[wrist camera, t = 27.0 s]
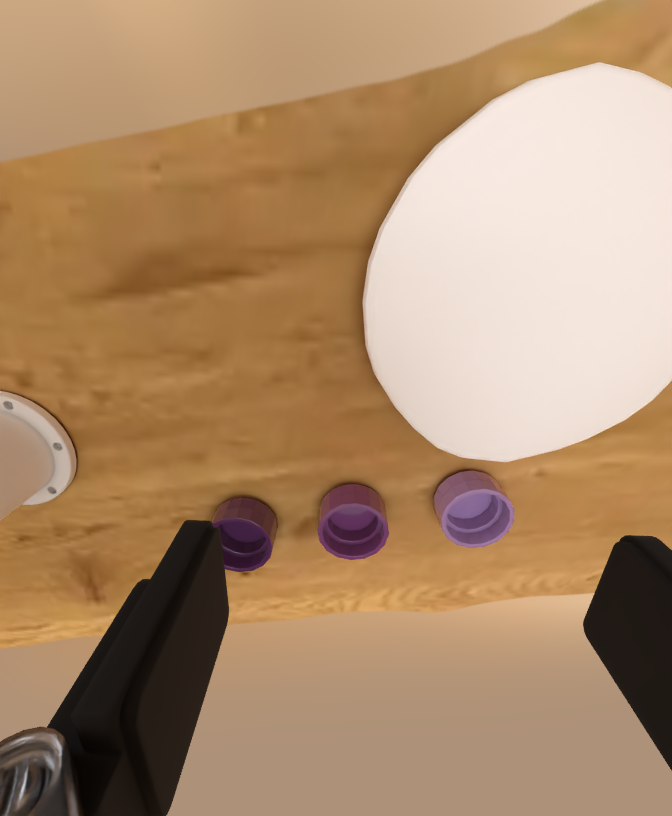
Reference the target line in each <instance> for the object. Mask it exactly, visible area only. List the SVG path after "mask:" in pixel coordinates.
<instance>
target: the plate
mask: <svg viewBox="0 0 672 816" xmlns="http://www.w3.org/2000/svg"><path fill="white" fill-rule="evenodd" d="M363 316H364V331H365V346H366V349H367V352H368V356H369V359H370V362H371V365H372V368H373V372H374V374H375V376H376V377H377V379H378V381H379V382H380V384H381V386H382V387H383V389H384V390H385V392H386V394H387V395H388V397H389V399H390V400H391V402H392V403H393V405H394V406H395V408H396V409H397V410H398V411H399V412H400V413H401V415H402V416H403V417H404V418H405V419H406V420H407V421H408V423H409V424H410V425H411V426H412V427H413V428H414V429H415V430H416V431H417V432H419V433H420V434H421V435H422V436H423V437H425V438H426V439H427V440H428V441H430V442H431V443H432V444H433V445H434V446H436V447H437V448H439V449H441V450H444V451H446V452H449V453H451V454H454V455H456V456H459V457H461V458H470V459H479V460H489V461H499V462H509V461H513V460H517V459H522V458H526V457H530V456H534V455H538V454H542V453H547V452H551V451H555V450H558V449H561V448H564V447H567V446H569V445H572V444H575V443H578V442H580V441H583V440H586V439H588V438H590V437H592V436H594V435H596V434H598V433H600V432H602V431H604V430H606V429H608V428H610V427H612V426H614V425H616V424H618V423H620V422H622V421H624V420H626V419H627V418H629V417H630V416H631V415H633V414H634V413H635V412H637V411H638V410H640V409H641V408H642V407H644V406H645V405H647V404H648V403H649V402H651V401H652V400H653V399H654V398H655V397H656V396H657V395H658V394H659V393H660V392H661V391H662V390H663V389H664V388H665V387H666V386H667V385H668V384H669V383H670V382H671V381H672V87H670V86H668V85H666V84H664V83H662V82H660V81H657V80H655V79H653V78H651V77H649V76H647V75H645V74H643V73H641V72H637V71H633V70H629V69H625V68H621V67H617V66H613V65H609V64H605V63H601V62H599V63H594V64H590V65H586V66H583V67H579V68H575V69H571V70H568V71H564V72H560V73H556V74H553V75H549V76H545V77H541V78H538V79H534V80H530V81H528V82H526V83H524V84H522V85H520V86H518V87H516V88H514V89H512V90H510V91H508V92H507V93H505V94H503V95H501V96H499V97H497V98H495V99H493V100H492V101H490V102H489V103H488V104H487V105H485V106H484V107H483V108H482V109H480V110H479V111H478V112H477V113H475V114H474V115H473V116H472V117H471V118H469V119H468V120H467V121H466V122H464V123H463V124H462V125H461V126H459V127H458V128H457V129H456V130H454V131H453V132H452V133H451V134H449V135H448V136H447V137H446V138H444V139H443V140H442V141H441V142H439V143H438V144H437V145H436V146H435V147H434V148H433V149H432V150H431V151H430V153H429V154H428V155H427V156H426V157H425V158H424V160H423V161H422V162H421V163H420V164H419V166H418V167H417V168H416V169H415V170H414V172H413V173H412V174H411V175H410V176H409V177H408V179H407V181H406V183H405V184H404V186H403V188H402V190H401V191H400V193H399V195H398V197H397V198H396V200H395V202H394V204H393V206H392V207H391V209H390V211H389V213H388V214H387V216H386V218H385V220H384V221H383V223H382V225H381V227H380V229H379V232H378V235H377V238H376V240H375V243H374V246H373V249H372V252H371V255H370V258H369V261H368V267H367V274H366V280H365V287H364V294H363Z"/></svg>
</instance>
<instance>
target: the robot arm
mask: <svg viewBox="0 0 672 816" xmlns="http://www.w3.org/2000/svg"><path fill="white" fill-rule="evenodd" d="M75 472H76V455H75V449H74V447H73V445H72V442H71V440H70V438H69V436H68V435H67V433H66V431H65V430H64V428H63V427H62V426H61V425H60V424H59V423H58V421H57V420H56V419H55V418H54V417H53V416H52V415H50V414H49V413H48V412H47V411H46V410H45V409H43V408H42V407H40V406H38V405H37V404H35V403H34V402H32V401H30V400H28V399H26V398H23V397H21V396H19V395H15V394H12V393H9V392H3V391H0V521H1V520H3V519H4V518H5V517H6V516H8V515H9V514H10V513H12V512H13V511H14V510H15V509H17V508H18V507H19V506H21V505H37V504H41V503H45V502H48V501H50V500H52V499H54V498H55V497H57V496H58V495H60V494H61V493H62V492H63V491H64V490H65V489H66V488H67V487H68V486H69V485H70V483H71V482H72V480H73V479H74V475H75ZM228 616H229V605H228V596H227V587H226V577H225V568H224V559H223V550H222V541H221V532H220V529H219V528H213V524H212V522H211V521H196V520H187V521H185V522H184V523H183V525H182V526H181V528H180V530H179V531H178V533H177V535H176V537H175V538H174V540H173V542H172V543H171V545H170V547H169V549H168V550H167V552H166V554H165V555H164V557H163V559H162V560H161V562H160V564H159V566H158V567H157V569H156V571H155V572H154V574H153V576H152V578H151V579H142V580H141V581H140V582H138V583H137V584H136V586H135V587H134V588H133V590H132V591H131V593H130V594H129V596H128V598H127V599H126V601H125V603H124V604H123V606H122V607H121V609H120V611H119V612H118V614H117V615H116V617H115V619H114V620H113V622H112V623H111V625H110V627H109V628H108V630H107V631H106V633H105V635H104V636H103V638H102V640H101V641H100V643H99V645H98V646H97V648H96V649H95V651H94V653H93V654H92V656H91V657H90V659H89V661H88V662H87V664H86V665H85V667H84V669H83V670H82V672H81V673H80V675H79V677H78V678H77V680H76V681H75V683H74V685H73V686H72V688H71V690H70V691H69V693H68V694H67V696H66V697H65V699H64V701H63V702H62V704H61V705H60V707H59V709H58V710H57V712H56V714H55V715H54V717H53V718H52V720H51V722H50V724H49V725H48V726H47V728H45V727H37V728H32V729H27V730H23V731H21V732H19V733H16V734H14V735H12V736H10V737H8V738H5V739H4V740H2V741H1V742H0V816H166V815H167V813H168V811H169V809H170V807H171V804H172V801H173V798H174V795H175V791H176V788H177V784H178V782H179V778H180V775H181V772H182V769H183V765H184V762H185V759H186V756H187V753H188V749H189V746H190V743H191V739H192V736H193V733H194V730H195V727H196V723H197V720H198V717H199V714H200V710H201V707H202V704H203V701H204V697H205V694H206V691H207V687H208V684H209V681H210V678H211V675H212V671H213V668H214V665H215V662H216V659H217V655H218V652H219V649H220V645H221V642H222V639H223V635H224V633H225V629H226V626H227V622H228ZM583 626H584V632H585V635H586V637H587V639H588V640H589V642H590V643H591V645H592V646H593V648H594V650H595V651H596V653H597V654H598V656H599V657H600V659H601V661H602V662H603V664H604V665H605V667H606V668H607V670H608V671H609V673H610V675H611V676H612V678H613V679H614V681H615V683H616V684H617V686H618V687H619V689H620V690H621V692H622V693H623V695H624V696H625V698H626V699H627V701H628V703H629V704H630V706H631V708H632V709H633V711H634V712H635V714H636V715H637V717H638V719H639V720H640V722H641V723H642V725H643V726H644V728H645V730H646V731H647V733H648V734H649V736H650V737H651V739H652V740H653V742H654V744H655V745H656V747H657V748H658V750H659V751H660V753H661V754H662V756H663V758H664V759H665V761H666V762H667V764H668V766H669V767H670V769H671V770H672V550H671V549H669V548H668V547H667V546H666V545H665V544H664V543H663V542H662V541H660V540H659V539H657V538H656V537H652V536H632V535H628V536H624V537H622V538H621V539H620V541H619V542H617V543H615V545H614V547H613V549H612V552H611V554H610V556H609V559H608V561H607V564H606V566H605V569H604V571H603V574H602V576H601V579H600V581H599V584H598V586H597V589H596V591H595V594H594V596H593V599H592V601H591V604H590V606H589V609H588V611H587V614H586V616H585V619H584V622H583Z"/></svg>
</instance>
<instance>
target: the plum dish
mask: <svg viewBox="0 0 672 816" xmlns="http://www.w3.org/2000/svg"><path fill="white" fill-rule="evenodd" d="M318 535H319V540H320V542H321V544H322V545H323V546H324V548H325V549H326V550H327V551H328V552H330V553H332V554H333V555H335V556H337V557H339V558H344V559H349V560H355V559H364V558H367V557H369V556H371V555H373V554H376V553H377V552H378V551H379V550H380V549H381V548H382V547H383V546H384V545H385V543H386V540H387V538H388V535H389V531H388V523H387V517H386V511H385V505H384V502H383V500H382V499H381V497H380V496H379V494H378V493H376V492H375V491H373V490H372V489H370V488H369V487H367V486H362V485H358V484H349V485H342V486H339V487H337V488H335V489H333V490H331V491H330V492H329V493H328V494H327V495H326V496H325V497H324V498H323V500H322V503H321V506H320V510H319V521H318Z"/></svg>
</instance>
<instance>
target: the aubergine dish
mask: <svg viewBox="0 0 672 816" xmlns="http://www.w3.org/2000/svg"><path fill="white" fill-rule="evenodd" d="M211 522H212V524H213V528H219V529H220V532H221V541H222V550H223V559H224V568H225V569H227V570H231V571H236V572H245V571H253V570H255V569H257V568H259V567H261V566H263V565H264V564H265V563H266V562H267V561H268V559H269V558H270V556H271V552H272V548H273V544H274V540H275V535H276V531H277V526H278V525H277V521H276V518H275V515H274V514H273V512H272V511H271V510H270V509H269V507H267V506H266V505H264V504H263V503H261V502H259V501H257V500H254V499H249V498H235V499H230V500H228V501H226V502H224V503H223V504H221V505H220V506H219V508H218V509H217V510H216V511H215V513H214V515H213V517H212V519H211Z"/></svg>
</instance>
